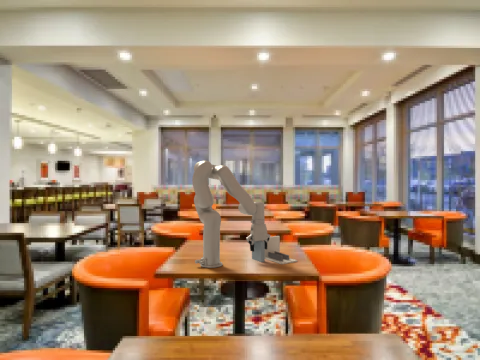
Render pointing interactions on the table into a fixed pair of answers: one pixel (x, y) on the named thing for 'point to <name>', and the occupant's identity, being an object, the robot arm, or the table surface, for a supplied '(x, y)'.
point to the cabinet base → (276, 252)
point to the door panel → (259, 251)
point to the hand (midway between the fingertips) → (258, 250)
